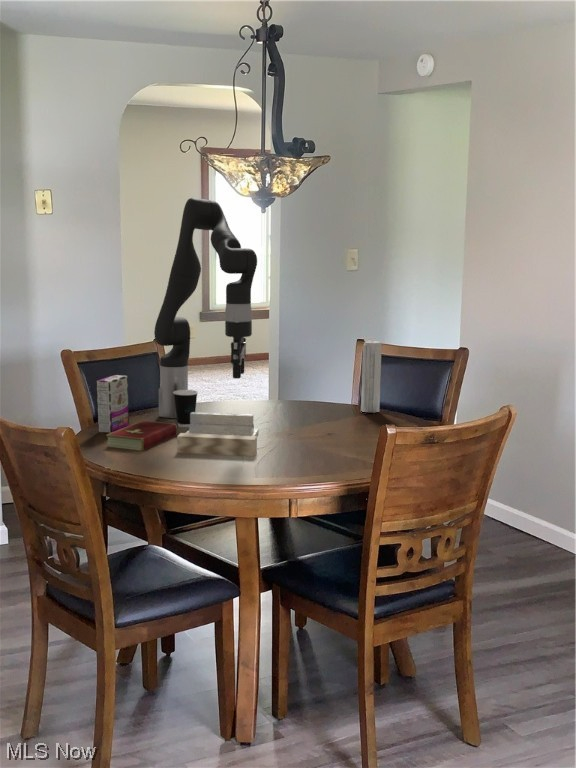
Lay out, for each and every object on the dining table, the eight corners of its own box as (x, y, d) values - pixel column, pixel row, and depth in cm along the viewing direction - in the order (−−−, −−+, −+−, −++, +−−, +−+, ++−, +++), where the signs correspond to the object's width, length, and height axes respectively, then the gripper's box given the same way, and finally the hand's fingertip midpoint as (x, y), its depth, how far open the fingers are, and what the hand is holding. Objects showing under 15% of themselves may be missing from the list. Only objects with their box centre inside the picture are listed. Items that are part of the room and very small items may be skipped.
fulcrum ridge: (183, 439, 251) (183, 416, 250) (191, 430, 263) (191, 408, 262) (253, 442, 249) (253, 419, 248) (258, 433, 261) (258, 411, 260)
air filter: (382, 411, 297) (384, 341, 293) (374, 414, 292) (376, 343, 288) (365, 409, 301) (368, 340, 296) (357, 412, 295) (359, 341, 291)
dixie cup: (192, 429, 265) (192, 394, 264) (169, 427, 268) (168, 393, 266) (201, 424, 273) (201, 390, 271) (179, 422, 275) (179, 389, 273)
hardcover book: (177, 436, 257) (176, 423, 257) (143, 452, 238) (142, 438, 237) (142, 432, 261) (142, 419, 261) (106, 448, 242) (105, 434, 241)
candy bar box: (115, 425, 269) (114, 374, 267) (129, 426, 268) (128, 375, 265) (97, 432, 259) (95, 379, 256) (111, 433, 257) (110, 381, 255)
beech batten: (177, 453, 237) (177, 436, 236) (180, 449, 241) (180, 432, 240) (254, 457, 234) (254, 439, 233) (256, 453, 238) (256, 436, 237)
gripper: (228, 317, 246) (229, 372, 249) (221, 321, 232) (222, 379, 235) (254, 317, 246) (254, 372, 248) (248, 321, 232) (248, 379, 234)
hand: (238, 375), depth 241 cm, fingers open, 8 cm apart
